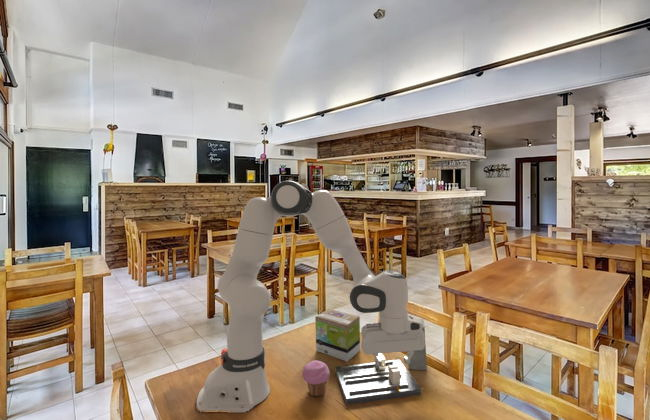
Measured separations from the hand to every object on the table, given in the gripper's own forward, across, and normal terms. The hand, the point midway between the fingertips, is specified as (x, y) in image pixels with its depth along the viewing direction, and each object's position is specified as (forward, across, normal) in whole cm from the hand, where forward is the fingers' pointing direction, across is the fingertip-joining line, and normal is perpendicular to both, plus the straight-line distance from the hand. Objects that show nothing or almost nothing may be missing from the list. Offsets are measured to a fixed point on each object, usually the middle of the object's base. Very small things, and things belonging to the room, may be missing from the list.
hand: (392, 364), depth 109 cm
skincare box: (+8, +14, +13) cm, 21 cm away
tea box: (+9, -13, +28) cm, 32 cm away
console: (+9, -4, +5) cm, 11 cm away
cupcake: (+9, -24, +3) cm, 26 cm away
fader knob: (+6, +1, +1) cm, 6 cm away
